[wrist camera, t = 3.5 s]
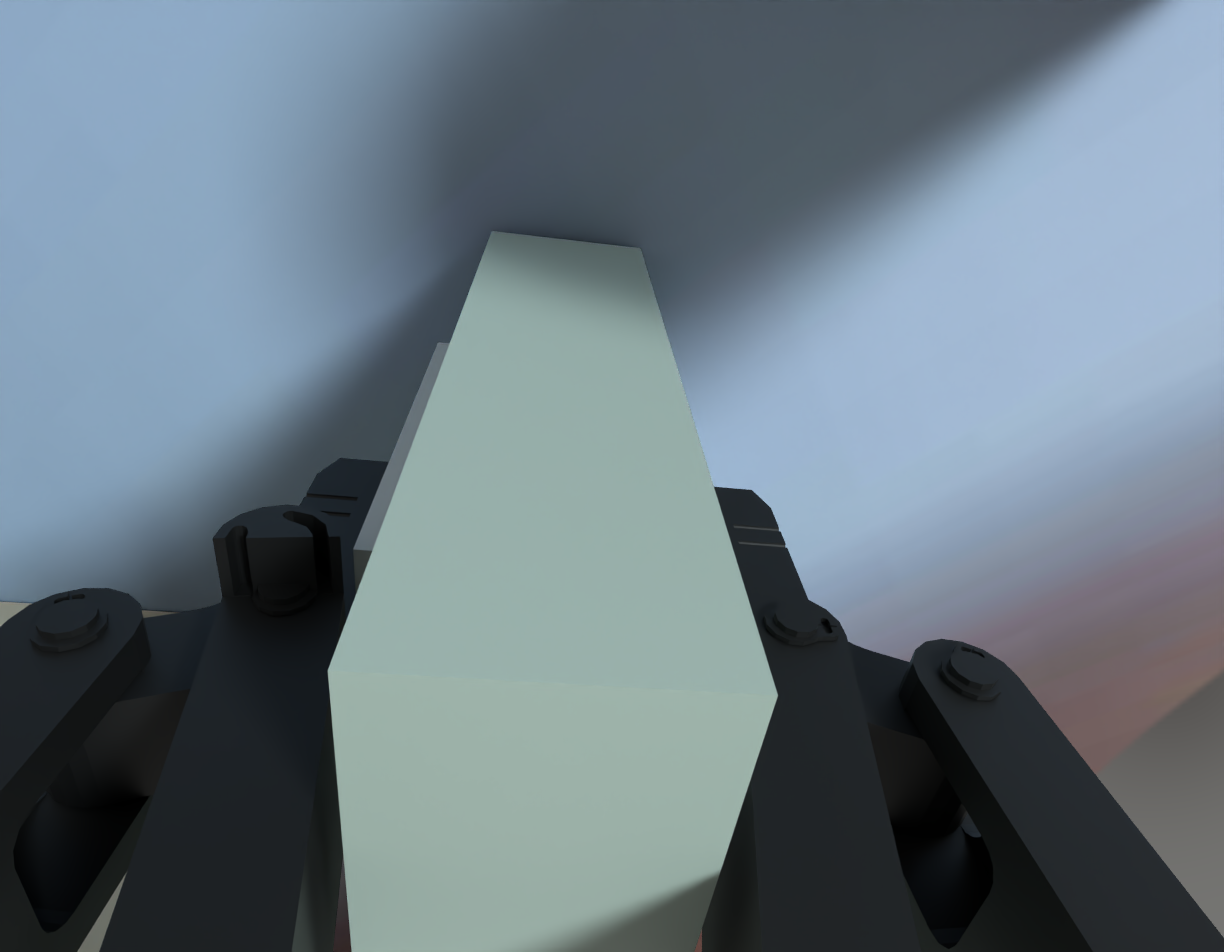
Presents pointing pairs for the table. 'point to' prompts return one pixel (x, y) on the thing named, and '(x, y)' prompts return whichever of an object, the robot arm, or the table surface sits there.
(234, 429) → the table surface
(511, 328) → the sage slat
